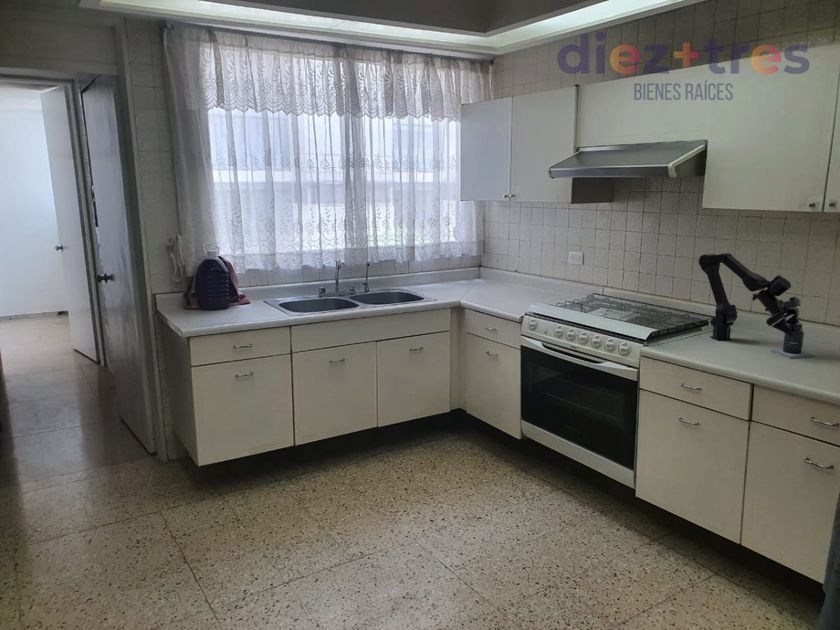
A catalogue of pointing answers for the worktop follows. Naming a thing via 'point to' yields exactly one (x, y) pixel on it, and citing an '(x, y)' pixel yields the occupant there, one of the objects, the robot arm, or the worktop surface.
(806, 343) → the worktop surface
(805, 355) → the plate
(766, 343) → the worktop surface
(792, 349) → the supplement bottle
